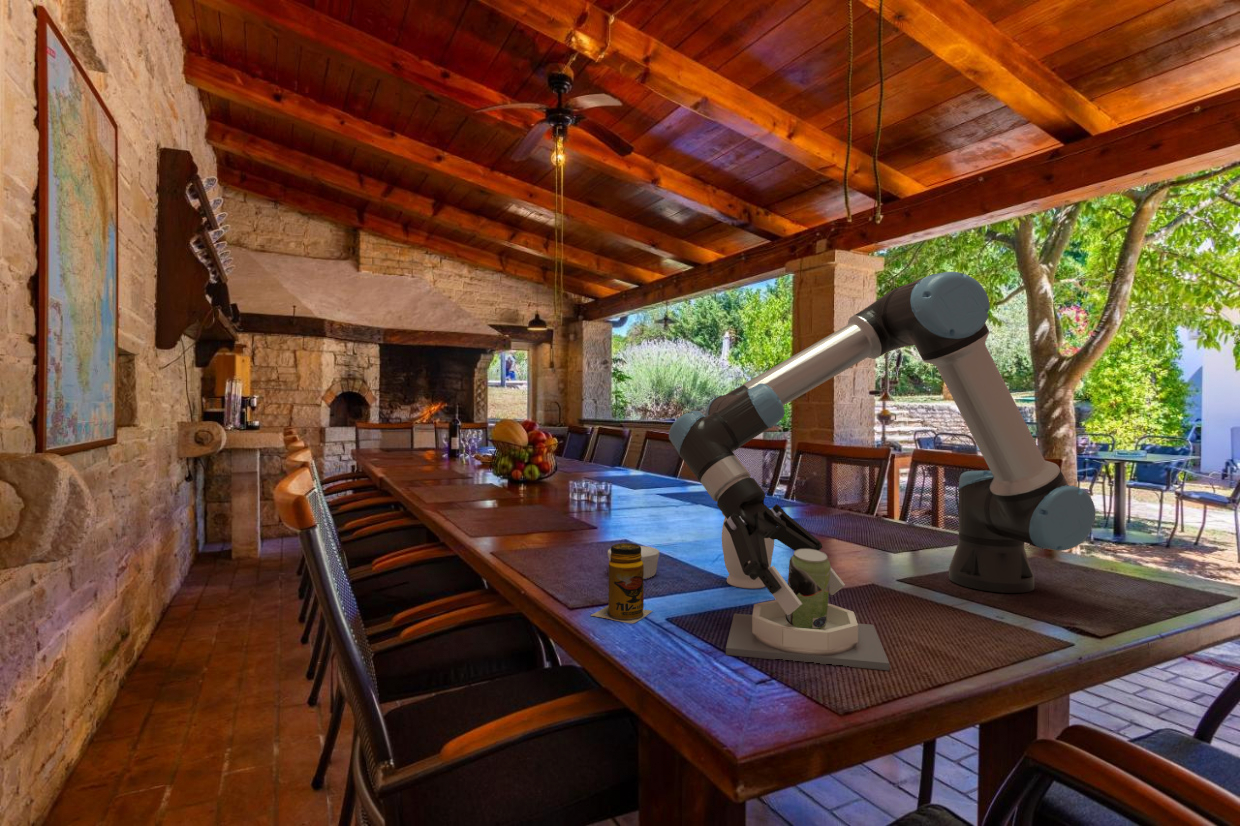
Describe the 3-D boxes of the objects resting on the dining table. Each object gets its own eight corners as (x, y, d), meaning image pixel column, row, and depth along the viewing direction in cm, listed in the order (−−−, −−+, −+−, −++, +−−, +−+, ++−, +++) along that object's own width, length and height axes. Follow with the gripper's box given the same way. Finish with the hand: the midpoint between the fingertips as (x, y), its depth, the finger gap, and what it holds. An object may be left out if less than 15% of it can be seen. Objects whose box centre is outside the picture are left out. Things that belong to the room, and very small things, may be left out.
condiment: (633, 624, 106) (634, 551, 105) (589, 616, 110) (590, 546, 110) (653, 612, 112) (653, 543, 112) (610, 604, 116) (611, 538, 116)
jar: (711, 580, 133) (711, 507, 133) (752, 574, 137) (752, 504, 137) (742, 593, 123) (742, 515, 123) (785, 587, 127) (785, 512, 127)
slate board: (873, 630, 103) (873, 624, 103) (889, 670, 87) (889, 663, 87) (734, 619, 108) (734, 613, 108) (725, 654, 93) (725, 647, 93)
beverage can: (810, 618, 103) (809, 544, 103) (840, 634, 96) (840, 554, 96) (776, 623, 101) (776, 547, 100) (805, 639, 94) (805, 557, 94)
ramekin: (636, 565, 145) (636, 542, 145) (670, 576, 136) (670, 551, 136) (596, 574, 138) (596, 549, 138) (630, 585, 129) (630, 559, 129)
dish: (850, 623, 103) (850, 603, 103) (861, 659, 88) (861, 635, 88) (755, 616, 107) (755, 596, 107) (750, 648, 92) (750, 626, 92)
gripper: (760, 497, 117) (838, 596, 107) (673, 512, 99) (756, 633, 89) (786, 470, 113) (870, 570, 103) (701, 481, 95) (791, 603, 85)
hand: (817, 599), depth 96 cm, fingers open, 13 cm apart
